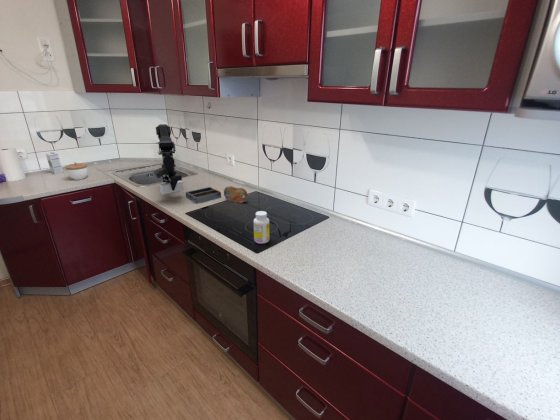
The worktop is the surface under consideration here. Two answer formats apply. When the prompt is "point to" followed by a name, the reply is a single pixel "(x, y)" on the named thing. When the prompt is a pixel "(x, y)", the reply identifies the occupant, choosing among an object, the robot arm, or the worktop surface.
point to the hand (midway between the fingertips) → (171, 189)
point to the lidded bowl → (77, 170)
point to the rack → (203, 194)
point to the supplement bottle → (261, 227)
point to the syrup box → (54, 163)
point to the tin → (235, 194)
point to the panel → (167, 188)
